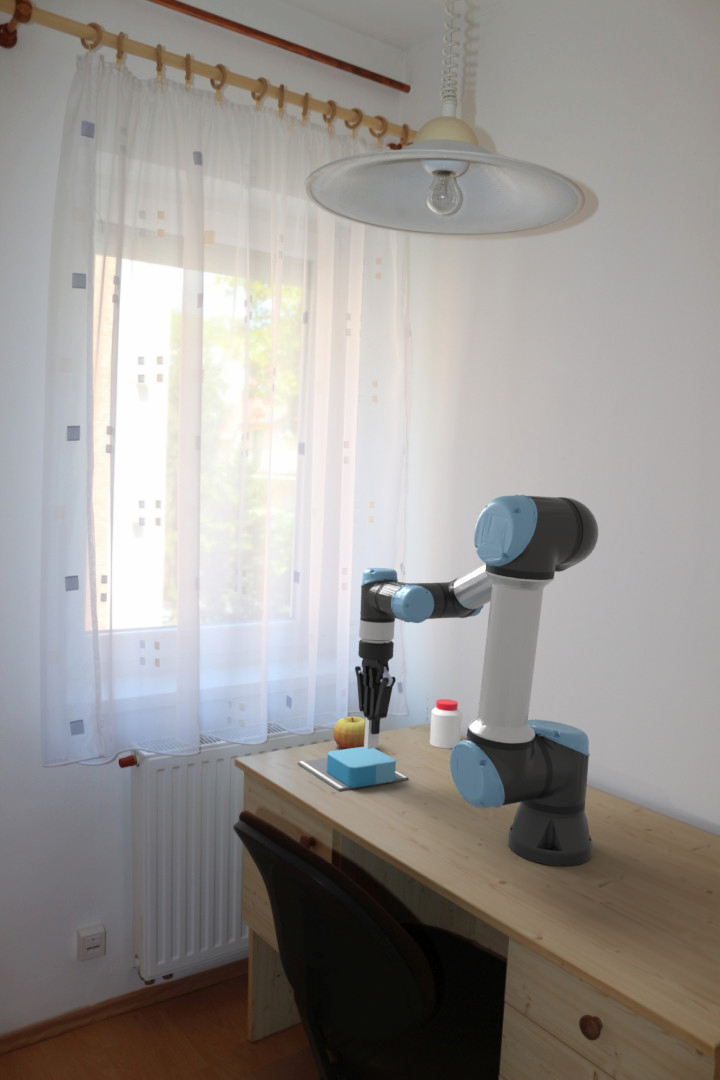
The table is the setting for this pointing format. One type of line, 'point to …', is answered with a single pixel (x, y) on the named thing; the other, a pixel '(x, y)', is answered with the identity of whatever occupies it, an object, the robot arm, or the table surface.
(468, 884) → the table surface
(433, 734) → the pill bottle
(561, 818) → the robot arm
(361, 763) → the light blue flat block
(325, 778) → the mat
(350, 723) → the apple
